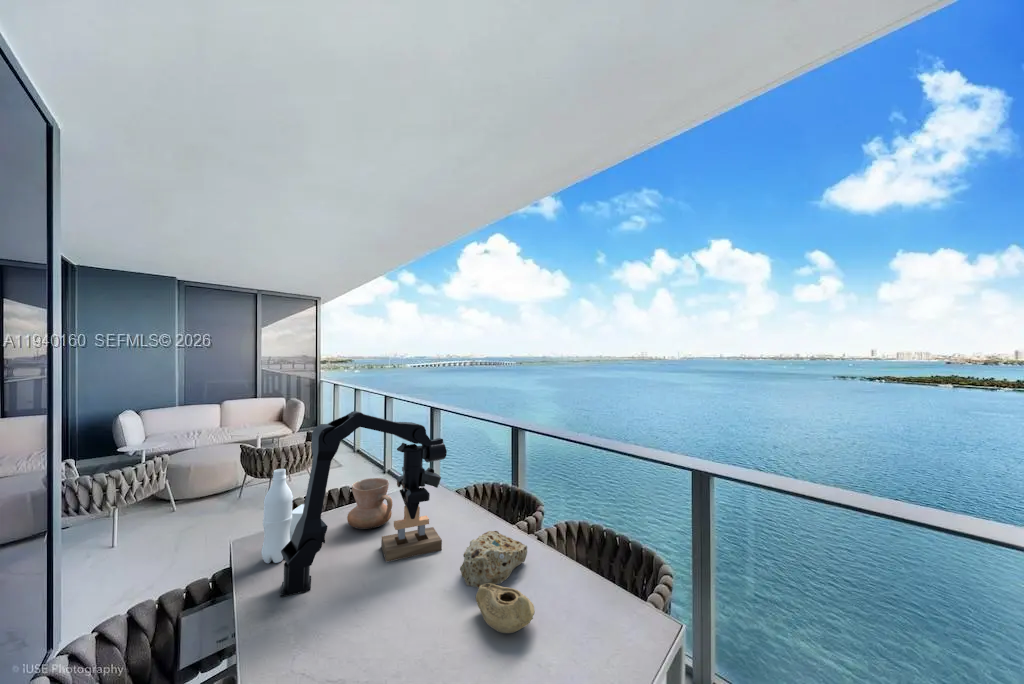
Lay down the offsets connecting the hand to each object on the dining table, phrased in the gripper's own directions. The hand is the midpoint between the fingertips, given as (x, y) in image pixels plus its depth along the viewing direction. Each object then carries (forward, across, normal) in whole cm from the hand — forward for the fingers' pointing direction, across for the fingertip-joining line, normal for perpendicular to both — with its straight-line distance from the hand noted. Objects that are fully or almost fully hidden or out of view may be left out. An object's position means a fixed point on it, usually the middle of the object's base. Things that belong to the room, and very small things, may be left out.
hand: (411, 516), depth 116 cm
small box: (+10, +18, +30) cm, 36 cm away
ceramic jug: (+10, +23, +9) cm, 27 cm away
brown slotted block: (+9, 0, 0) cm, 9 cm away
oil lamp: (+10, -42, -11) cm, 45 cm away
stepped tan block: (+6, 0, 0) cm, 6 cm away
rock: (+10, -22, -18) cm, 30 cm away
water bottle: (+10, +10, +36) cm, 39 cm away
